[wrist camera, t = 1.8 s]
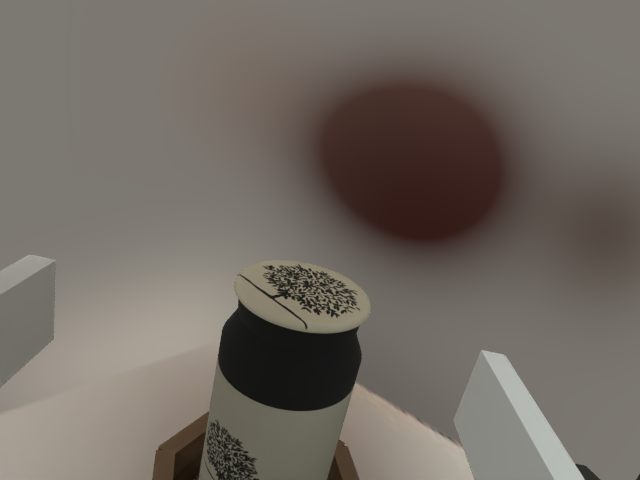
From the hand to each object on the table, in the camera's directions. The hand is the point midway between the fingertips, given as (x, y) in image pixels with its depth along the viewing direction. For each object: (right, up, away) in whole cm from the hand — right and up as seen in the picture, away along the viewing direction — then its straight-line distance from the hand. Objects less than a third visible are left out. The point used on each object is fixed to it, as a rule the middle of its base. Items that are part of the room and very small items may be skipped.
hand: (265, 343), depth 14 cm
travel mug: (-3, -16, +16) cm, 23 cm away
